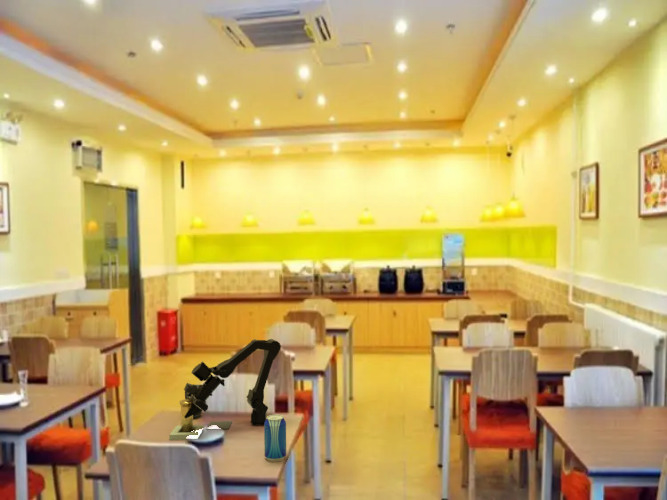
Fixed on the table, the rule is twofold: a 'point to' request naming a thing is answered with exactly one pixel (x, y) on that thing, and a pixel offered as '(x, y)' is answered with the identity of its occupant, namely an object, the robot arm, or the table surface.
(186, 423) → the brass cover
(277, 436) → the beer can
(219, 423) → the mat
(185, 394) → the camera lens
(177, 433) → the housing
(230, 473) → the table surface
